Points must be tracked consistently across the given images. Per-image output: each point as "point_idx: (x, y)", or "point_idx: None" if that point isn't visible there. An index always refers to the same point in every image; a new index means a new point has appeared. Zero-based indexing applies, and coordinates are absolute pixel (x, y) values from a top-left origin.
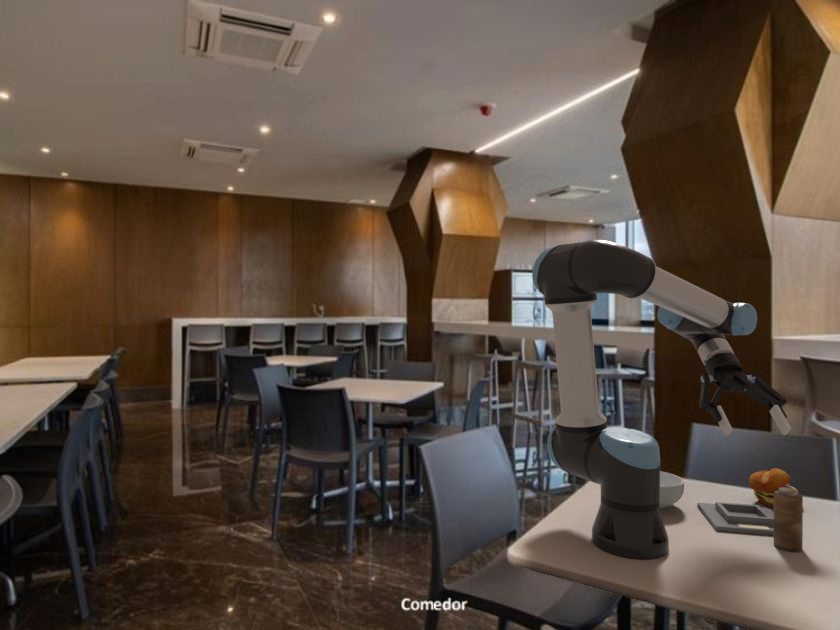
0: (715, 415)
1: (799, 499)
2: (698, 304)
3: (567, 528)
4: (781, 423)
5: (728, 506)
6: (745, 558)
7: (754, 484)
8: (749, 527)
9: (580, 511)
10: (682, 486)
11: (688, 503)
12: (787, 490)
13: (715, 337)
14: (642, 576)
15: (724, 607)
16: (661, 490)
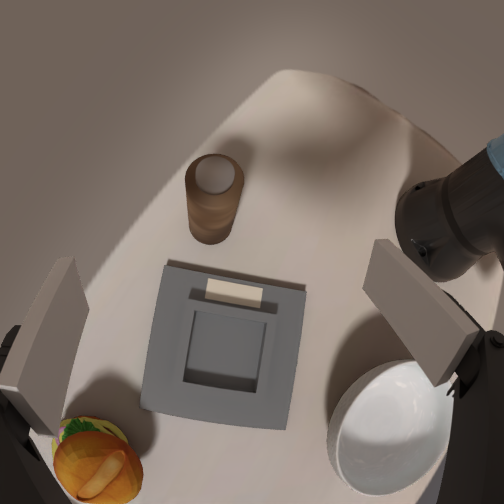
0: (456, 301)
1: (205, 156)
2: None
3: (483, 281)
4: (67, 312)
5: (239, 390)
6: (303, 184)
7: (139, 467)
8: (245, 286)
9: None
10: (351, 398)
11: (293, 444)
12: (221, 166)
13: None
14: (423, 153)
15: (364, 97)
16: (400, 361)
